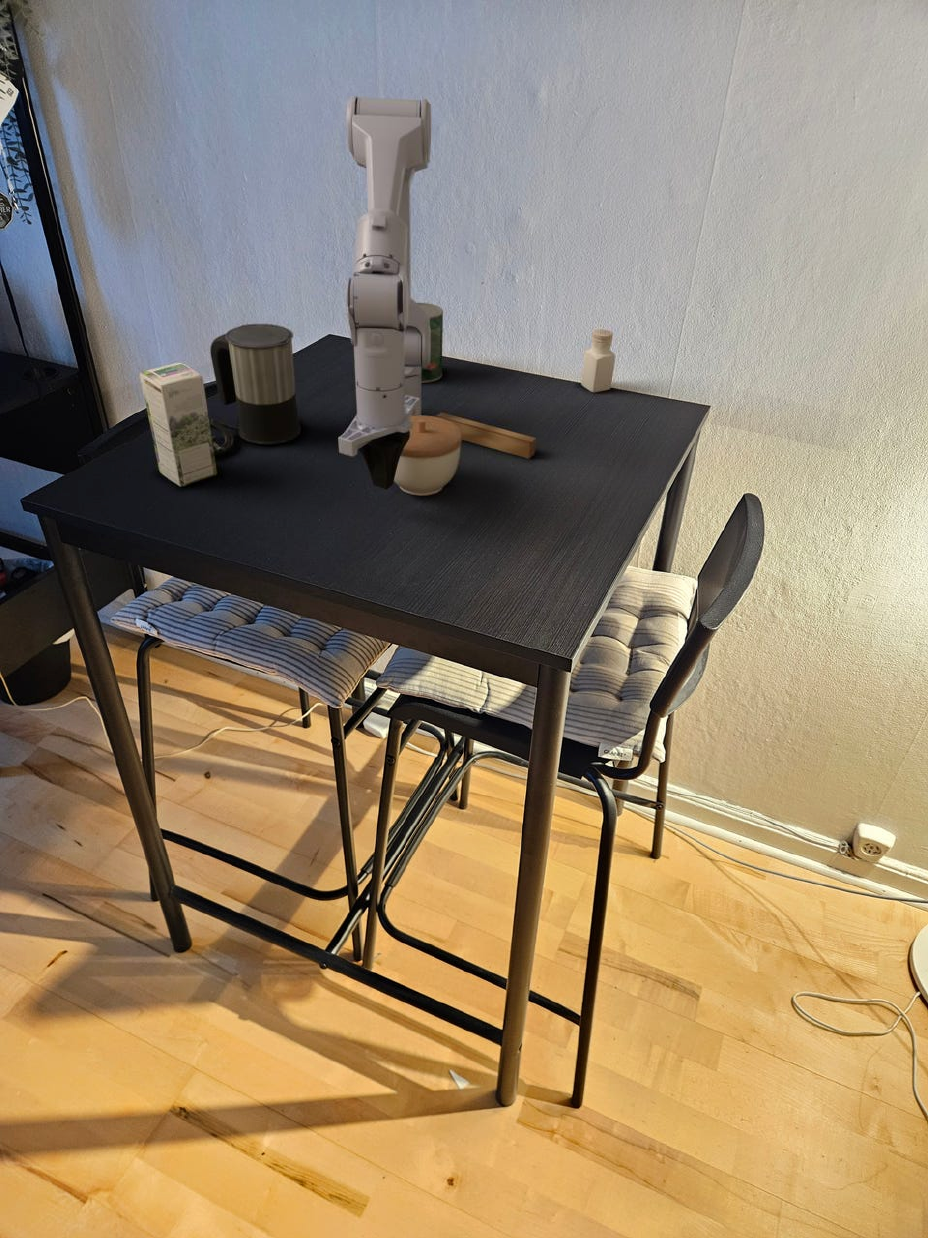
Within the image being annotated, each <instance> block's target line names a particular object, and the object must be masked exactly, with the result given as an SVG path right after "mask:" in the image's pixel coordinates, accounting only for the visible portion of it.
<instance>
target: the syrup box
mask: <svg viewBox="0 0 928 1238" xmlns="http://www.w3.org/2000/svg"><path fill="white" fill-rule="evenodd" d="M139 378H140V382H141V387H142V392H143V397H144V402H145V407H146V412H147V417H148V422H149V427H150V432H151V436H152V440H153V441H152V442H153V447H154V452H155V456H156V462H157V467H158V471H159V473H160V474H161V475H163V476H164V477H166V478H167V479H168V480H169V481H171V482H172V483H174V484H175V485H177V486H179V487H180V488H182V487H185V486H189V485H191V484H194V483H197V482H200V481H202V480H205V479H208V478H212V477H213V476H216V475H217V474H218V471H217V465H216V458H215V455H214V451H213V444H212V437H213V436H212V432H211V431H212V430H211V428H210V424H209V419H210V418H209V412H208V411H209V410H208V405H207V404H208V403H207V399H206V398H207V397H206V391H205V384H204V378H203V376H202V375H201V374H200V373H199V372H197V371H196V370H194V369H193V368H192V367H190V366H188V365H187V364H185V363H183V362H180V361H178V362H175V363H171V364H167V365H163V366H159V367H155V368H151V369H148V370H144V371H141V372H139Z"/></svg>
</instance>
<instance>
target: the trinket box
mask: <svg viewBox="0 0 928 1238" xmlns="http://www.w3.org/2000/svg"><path fill="white" fill-rule="evenodd" d="M409 421H411V422H412V423H413V428H412V429H410V430H409V431H410V438H409V440H408V442H407V443H406V445H405V447H404V449H403V451H402V454H401V456H400V459H399V462H398V466H397V470H396V474H395V478H394V482H393V483H395V484H396V485H397V486H398V487H399V489H401V491H403V492H405V493H406V494H409V495H413V496H431V495H435V494H437V493H439V492H440V491H442V490H443V488H444V487H445V486H446V485H447V484H449V482H450V481H451V480H452V479H453V477H454V476H455V474H456V472H457V471H458V467H459V463H460V459H461V451H462V442H463V440H462V432H461V430H460V428H459V427H458V426H457V425H456V424H454V423H453V422H451V421H448V420H446V419H443V418H439V417H435V416H434V415H423V416H422V414H421V415H417V416H411V417H410V419H409Z"/></svg>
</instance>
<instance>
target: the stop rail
mask: <svg viewBox="0 0 928 1238" xmlns="http://www.w3.org/2000/svg"><path fill="white" fill-rule="evenodd" d="M434 417H439V418H443V419H446V420H448V421H451V422H453V423H454V424H456V425H457V426H458V427H459V428H460V430H461V432H462V441H464V442H468V443H471V444H476V445H478V446H482V447H486V448H490V449H493V450H497V451H499V452H504V453H506V454H510V455H514V456H516V457H517V456H518V457H521V458H524V459H530V458H531V457H533V456H534V455H535V451H536V440H537V438H536V437H533V436H530V435H525V434H522V433H518V432H515V431H511V430H507V429H503V428H500V427H496V426H493V425H489V424H486V423H482V422H478V421H474V420H471V419H467V418H463V417H460V416H456V415H453V414H449V413H445V412H440V413H438V414H435V415H434Z"/></svg>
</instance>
